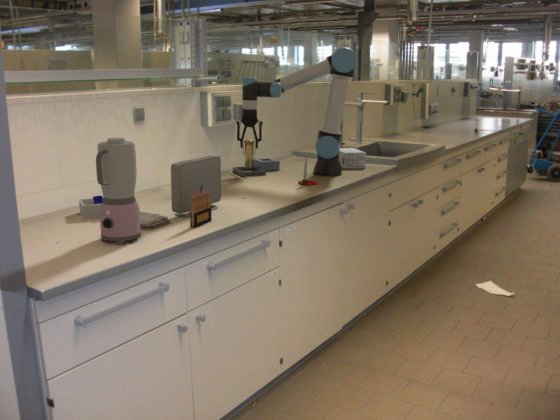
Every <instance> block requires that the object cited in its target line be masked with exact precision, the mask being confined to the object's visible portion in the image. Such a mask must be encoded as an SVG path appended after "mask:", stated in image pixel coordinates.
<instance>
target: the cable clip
mask: <svg viewBox="0 0 560 420" xmlns="http://www.w3.org/2000/svg"><path fill="white" fill-rule="evenodd" d="M92 198H93V199H94V204H101V203H102V201H103V199H102V198H103V195H94V196H92Z"/></svg>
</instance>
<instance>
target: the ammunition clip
mask: <svg viewBox="0 0 560 420" xmlns="http://www.w3.org/2000/svg"><path fill="white" fill-rule="evenodd" d="M210 205H211V204H210V196H209V190H208V189H207V191H206V190H204V193H203V191H201V194H200V191H199V192H198V195H197V192H196V194H195V195H194V193H193V195H192V204H191V211H190V214H189V215H190V217H189V218H190V223H189V224H190V228H193V229H195V228H198V227H200V226H203V225H205V224H208V223H211V222H213V221H212V220H213V219H212V211H211V208H212V207H210Z"/></svg>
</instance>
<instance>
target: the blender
mask: <svg viewBox="0 0 560 420" xmlns="http://www.w3.org/2000/svg"><path fill="white" fill-rule="evenodd" d="M95 167H96V169H95V170H96V178H97V179H96V180H97V184H99V185H100V187H101V191H102V197H103V201H102V203H101V206H100V218H99V223H100V239H101V242H105V241H111V242H116V245H124V244H125V242H126V241H131V240H135V239H137V238H139V237H140V238H141V236H142V232H141V230H142V229H140V212H141V211H140V206H139V203H138V202H137V200H136V197H135V193H136V185H137V183H136V182H137V177H138V175H137V174H138V172H137V171H138V170H137V156H136V144H135V143H134V142H133V141H129V140H127V141H126V139H125V138H124V137H109V138H107V139H106V141H100V142H98V143H97V154H96V157H95Z"/></svg>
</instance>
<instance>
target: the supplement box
mask: <svg viewBox="0 0 560 420" xmlns="http://www.w3.org/2000/svg"><path fill="white" fill-rule="evenodd" d="M339 161H340V165H341V169H344V168H347V169H348V168H350V169H366V165H367V164H366V163H367V152H366V151H362V150H360V149H358V148H355V147H348V148H345V147H344V148H341V147H340V151H339ZM347 169H346V170H347Z"/></svg>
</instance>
